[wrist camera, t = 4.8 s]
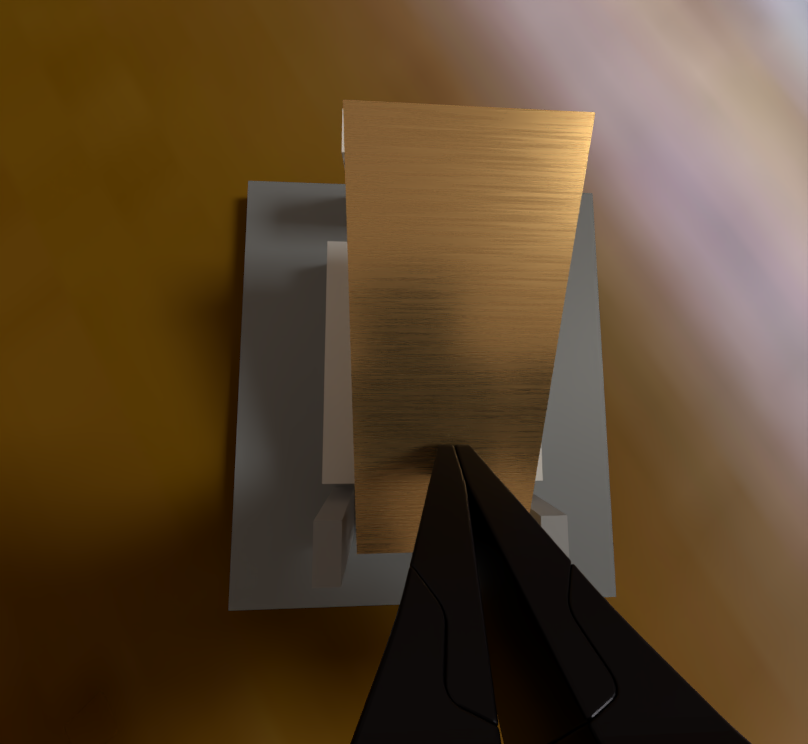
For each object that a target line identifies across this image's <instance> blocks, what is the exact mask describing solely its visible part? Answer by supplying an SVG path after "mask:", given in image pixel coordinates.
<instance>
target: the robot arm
mask: <svg viewBox="0 0 808 744" xmlns="http://www.w3.org/2000/svg"><path fill="white" fill-rule="evenodd" d="M497 715H498V717H497ZM498 719H499V724H500V728H501V733H502V737H503V742H504V744H751V743H750V742H749V741H748V740H747V739H746V738H745V737H743V736H742V735H741V734H740V733H739V732H738V731H737V730H735V729H734V728H733V727H732V726H731V725H730V724H729V723H728V722H727V721H726V720H725V719H724V718H723V717H722V716H721V715H720V714H719V713H718V712H717V711H716V710H715V709H714V708H713V707H712V706H711V705H710V704H709V703H708V702H707V701H706V700H705V699H704V698H703V697H702V696H701V695H700V694H699V693H698V692H697V691H696V690H695V689H694V688H693V687H692V686H690V685H689V684H688V683H687V682H686V681H685V680H684V679H683V678H682V677H681V676H680V675H679V674H678V673H677V672H676V671H675V670H674V669H673V668H672V667H671V666H670V665H669V664H668V663H667V662H666V661H665V660H664V659H663V658H662V657H661V656H660V655H659V654H658V653H657V652H656V651H655V650H654V649H653V648H652V647H651V646H650V645H649V644H648V643H647V642H646V641H645V640H644V639H643V638H642V637H641V636H640V635H639V634H638V633H637V632H636V631H635V630H634V629H633V628H632V627H631V626H630V624H629V623H628V622H627V621H626V620H625V619H624V618H623V617H622V616H621V615H620V614H619V613H618V612H617V611H616V610H615V609H614V608H613V607H612V606H611V605H610V604H609V603H608V602H607V600H606V599H605V598H604V597H603V596H602V595H601V594H600V593H599V592H598V590H597V589H596V588H595V587H594V586H593V585H592V584H591V583H590V582H589V581H588V579H587V578H586V577H585V576H584V575H583V574H582V573H581V571H580V570H579V569H578V568H577V567H576V566H575V565H574V564H571V560H570V559H569V558H568V557H567V556H566V554H565V553H564V552H563V551H562V550H561V549H560V547H559V546H558V545H557V544H556V543H555V542H554V541H553V539H552V538H551V537H550V536H549V535H548V534H547V533H546V531H545V530H544V529H543V528H542V527H541V526H540V525H539V523H538V522H537V521H536V520H535V519H534V518H533V517H532V515H531V514H530V513H529V512H528V511H527V510H526V508H525V507H524V506H523V505H522V504H521V503H520V502H519V500H518V499H517V498H516V497H515V496H514V495H513V494H512V492H511V491H510V490H509V489H508V488H507V487H506V486H505V484H504V483H503V482H502V481H501V480H500V479H499V478H498V476H497V475H496V474H495V473H494V472H493V471H492V469H491V468H490V467H489V466H488V465H487V464H486V463H485V461H484V460H483V459H482V458H481V457H480V456H479V455H478V453H477V452H476V451H475V450H474V449H473V448H472V447H471V446H470V445H468V444H456V445H454V446H453V445H452V444H440V445H438V448H437V452H436V456H435V461H434V465H433V469H432V473H431V478H430V482H429V486H428V490H427V494H426V499H425V503H424V507H423V511H422V515H421V520H420V524H419V528H418V532H417V537H416V541H415V545H414V549H413V553H412V558H411V562H410V568H409V569H408V574H407V578H406V582H405V586H404V590H403V594H402V597H401V601H400V605H399V608H398V612H397V616H396V619H395V622H394V625H393V627H392V630H391V633H390V636H389V639H388V642H387V645H386V648H385V651H384V654H383V656H382V659H381V662H380V664H379V667H378V670H377V673H376V675H375V678H374V681H373V684H372V686H371V689H370V692H369V694H368V697H367V700H366V703H365V705H364V708H363V711H362V713H361V716H360V719H359V722H358V724H357V727H356V730H355V732H354V735H353V738H352V741H351V743H350V744H501V739H500V732H499V729H498V727H497V726H498Z"/></svg>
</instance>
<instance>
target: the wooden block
mask: <svg viewBox="0 0 808 744" xmlns="http://www.w3.org/2000/svg"><path fill="white" fill-rule="evenodd" d="M594 117H595V113H594V112H575V111H555V110H535V109H515V108H496V107H476V106H456V105H436V104H417V103H397V102H377V101H358V100H343V118H344V151H345V184H346V216H347V249H348V282H349V315H350V348H351V380H352V413H353V446H354V479H355V511H356V544H357V554H378V553H413V549H414V545H415V541H416V537H417V532H418V528H419V524H420V520H421V515H422V511H423V507H424V503H425V499H426V494H427V490H428V486H429V482H430V478H431V473H432V469H433V465H434V461H435V456H436V452H437V448H438V445H440V444H452V445H453V446H454V445H456V444H468V445H470V446H471V447H472V448H473V449H474V450H475V451H476V452H477V453H478V455H479V456H480V457H481V458H482V459H483V460H484V461H485V463H486V464H487V465H488V466H489V467H490V468H491V469H492V471H493V472H494V473H495V474H496V475H497V476H498V478H499V479H500V480H501V481H502V482H503V483H504V484H505V486H506V487H507V488H508V489H509V490H510V491H511V492H512V494H513V495H514V496H515V497H516V498H517V499H518V500H519V502H520V503H521V504H522V505H523V506H524V507H525V508H526V510H527V511H528V512H529V513H530V509H531V503H532V497H533V491H534V485H535V478H536V472H537V466H538V460H539V454H540V448H541V442H542V436H543V429H544V423H545V417H546V411H547V405H548V399H549V393H550V386H551V380H552V374H553V368H554V362H555V356H556V350H557V344H558V337H559V331H560V325H561V319H562V313H563V307H564V301H565V294H566V288H567V282H568V276H569V270H570V264H571V258H572V252H573V245H574V239H575V233H576V227H577V221H578V215H579V209H580V202H581V196H582V190H583V184H584V178H585V172H586V166H587V160H588V153H589V147H590V141H591V135H592V129H593V123H594Z"/></svg>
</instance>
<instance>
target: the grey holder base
mask: <svg viewBox="0 0 808 744" xmlns="http://www.w3.org/2000/svg"><path fill="white" fill-rule="evenodd" d="M342 156H343V162H344V167H345V151H344V118H343V113H342ZM530 514H531V515H532V517H533V518H534V519H535V520H536V521H537V522H538V523H539V525H540V526H541V527H542V528H543V529H544V530H545V531H546V533H547V534H548V535H549V536H550V537H551V538H552V539H553V541H554V542H555V543H556V544H557V545H558V546H559V547H560V549H561V550H562V551H563V552H564V553H565V554H566V556H567V557H568V558H569V559H570V560H571V564H574V565H575V566H576V567H577V568H578V569H579V570H580V571H581V573H582V574H583V575H584V576H585V577H586V578H587V579H588V581H589V582H590V583H591V584H592V585H593V586H594V587H595V588H596V589H597V590H598V592H599V593H600V594H601V595H602V596H603V597H616V587H615V570H614V553H613V536H612V519H611V502H610V485H609V468H608V451H607V434H606V417H605V400H604V382H603V365H602V348H601V331H600V314H599V297H598V280H597V263H596V246H595V229H594V212H593V195H592V193H582V196H581V202H580V209H579V215H578V221H577V227H576V233H575V239H574V245H573V252H572V258H571V264H570V270H569V276H568V282H567V288H566V294H565V301H564V307H563V313H562V319H561V325H560V331H559V337H558V344H557V350H556V356H555V362H554V368H553V374H552V380H551V386H550V393H549V399H548V405H547V411H546V417H545V423H544V429H543V436H542V442H541V448H540V454H539V460H538V466H537V472H536V478H535V485H534V491H533V497H532V503H531V509H530ZM411 558H412V553H378V554H357V544H356V511H355V479H354V446H353V413H352V380H351V348H350V315H349V282H348V249H347V216H346V184H320V183H292V182H265V181H248V201H247V222H246V244H245V265H244V286H243V308H242V329H241V350H240V372H239V393H238V415H237V436H236V457H235V479H234V500H233V522H232V543H231V564H230V586H229V607H228V611H235V610H262V609H290V608H317V607H345V606H372V605H400V601H401V597H402V594H403V590H404V586H405V582H406V578H407V574H408V569H409V568H410V562H411Z"/></svg>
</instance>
